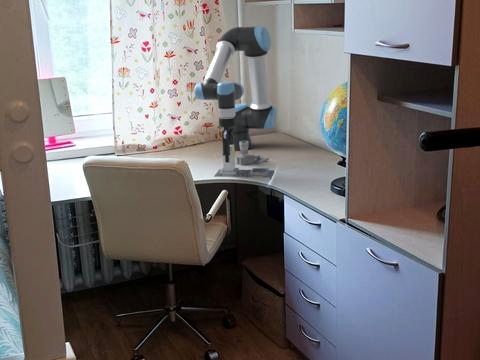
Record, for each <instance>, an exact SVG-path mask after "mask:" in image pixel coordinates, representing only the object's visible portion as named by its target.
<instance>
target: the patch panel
mask: <svg viewBox="0 0 480 360" xmlns="http://www.w3.org/2000/svg"><path fill="white" fill-rule="evenodd" d="M274 174H275V170H274V169H270V168H269V167H268V168H267V167H260V168H259V167H252V168H251V169H240V168H239V167H235V172H223V167H222V168H220V169H218V170H217V172H216V173H215V175H214V176H213V177H215V178H218V177H219V178H220V177H222V178H223V177H225V178H263V179H265V178H266V179H267V178H269V180H272V178H273V176H274Z"/></svg>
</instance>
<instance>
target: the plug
mask: <svg viewBox="0 0 480 360" xmlns="http://www.w3.org/2000/svg"><path fill="white" fill-rule="evenodd" d="M221 150H222V151H223V145H222V147H221ZM235 151H236V150H235V147H234V144H230V155H231V169H225V159H224V155H222V168H223V172H235V168H236V162H235V161H236V160H235V155H236V154H235Z"/></svg>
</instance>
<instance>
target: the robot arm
mask: <svg viewBox="0 0 480 360" xmlns="http://www.w3.org/2000/svg"><path fill="white" fill-rule="evenodd" d="M271 40H272V39H271V36H270V32H269V31H268V28H266V27H264V26H236V27H233V28H231V29H228V30H227V31H226V32H225V33H223V34H222V36H221V37H220V38H219V39H218V41H217V43H216V46H215V53H214V55H213V58H212V60H211V62H210V65H209V67H208V70H207V71H206V75H205V77H204V79H203V81H202V82H199V83H196V84H195V85H194V90H193V91H194V96H195V98H196V99H197V100H202V101H217V106H218V109H217V112H216V113H218V126H219V127H220V128H221V127H222V128H223V130H222V133H221V138H222V146H223V150H222V156H223V155H224V159H225V169H231V155H230V144H234V147H235V151H240V141H248V145H249V146H248V150H249V149H252V148H253V141H252V138H251V135H250V132H249V131H250V130H271V129H273V128H274V126H275V124H276V120H277V108H276V107H274V106H273V103H272V101H270V100H269V99H270V98H269V88H268V75H267V66H266V65H267V64H266V56H267V55H268V52H269V51H270V49H271V44H272V41H271ZM236 52H244V53H243V54H244V57H246V58H247V61H248V71H249V74H248V75H249V82H250V91H251V101H252V102H251V103H250V105H248V103H244V102H243V103H235V102H236V101H237V100H240V99H241V98H242V97H243V96H244V93H245V90H244V85H242V84H241V83H240V82H232V81H222V80H223V76H224V74H225V71H226V69H227V67H228V64H229V62H230V59H231V57H232V56H234V54H235V53H236Z"/></svg>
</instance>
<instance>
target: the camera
mask: <svg viewBox="0 0 480 360" xmlns="http://www.w3.org/2000/svg"><path fill="white" fill-rule="evenodd" d="M248 146H249V145H248V141H240V150H239V153H240V154H239V155H236V165H240V166H247V165H253V164H256V163H258V164H260V163H264V162H266V161H268V160H270V158H269V157H267V156H264V155H260V154H254V153H253V154H252V153H249V149H248Z"/></svg>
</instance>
